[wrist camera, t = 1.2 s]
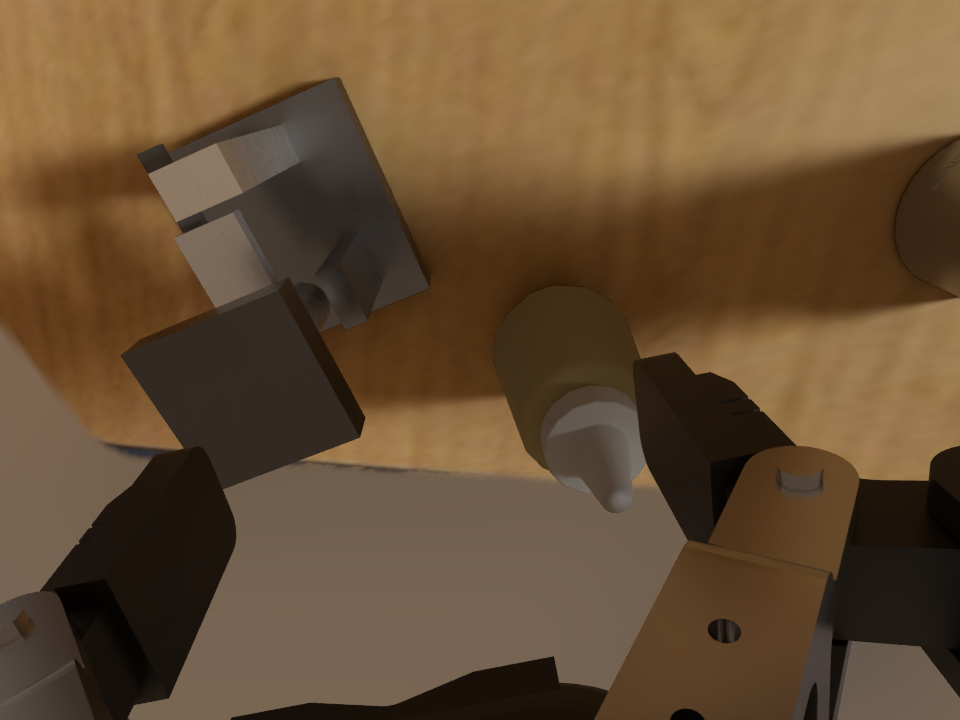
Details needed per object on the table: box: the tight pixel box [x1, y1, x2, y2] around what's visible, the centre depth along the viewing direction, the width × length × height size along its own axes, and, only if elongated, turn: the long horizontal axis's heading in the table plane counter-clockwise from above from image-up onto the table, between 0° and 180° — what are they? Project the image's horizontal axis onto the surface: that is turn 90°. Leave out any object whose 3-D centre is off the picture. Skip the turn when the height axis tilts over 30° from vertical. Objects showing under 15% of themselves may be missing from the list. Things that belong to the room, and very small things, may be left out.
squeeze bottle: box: [493, 286, 646, 513], centre depth 33 cm, size 8×8×18 cm
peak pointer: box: [137, 144, 208, 233], centre depth 29 cm, size 6×1×1 cm, turn 22°
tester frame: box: [148, 78, 431, 332], centre depth 33 cm, size 12×10×12 cm
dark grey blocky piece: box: [121, 209, 365, 489], centre depth 27 cm, size 8×6×10 cm
